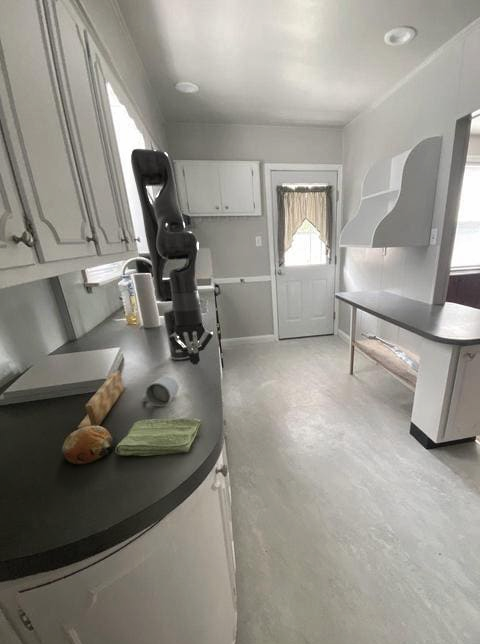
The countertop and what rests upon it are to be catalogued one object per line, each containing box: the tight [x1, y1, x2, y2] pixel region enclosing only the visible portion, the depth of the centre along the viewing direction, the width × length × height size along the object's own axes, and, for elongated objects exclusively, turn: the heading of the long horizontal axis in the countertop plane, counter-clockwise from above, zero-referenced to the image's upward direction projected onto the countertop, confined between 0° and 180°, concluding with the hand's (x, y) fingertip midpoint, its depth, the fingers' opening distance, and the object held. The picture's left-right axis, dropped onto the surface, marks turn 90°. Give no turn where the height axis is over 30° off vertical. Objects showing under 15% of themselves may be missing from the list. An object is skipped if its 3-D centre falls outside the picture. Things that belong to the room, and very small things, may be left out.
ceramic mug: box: [142, 375, 180, 407], centre depth 95 cm, size 11×8×8 cm
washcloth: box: [115, 417, 202, 457], centre depth 76 cm, size 13×18×3 cm
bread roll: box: [61, 425, 114, 465], centre depth 72 cm, size 10×10×8 cm
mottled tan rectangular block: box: [77, 369, 124, 430], centre depth 91 cm, size 24×5×7 cm, turn 11°
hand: (195, 363), depth 93 cm, fingers closed
